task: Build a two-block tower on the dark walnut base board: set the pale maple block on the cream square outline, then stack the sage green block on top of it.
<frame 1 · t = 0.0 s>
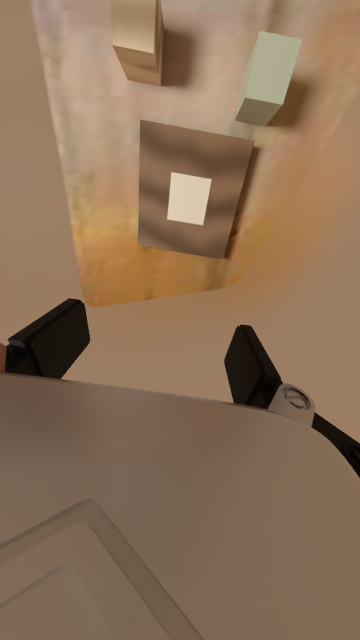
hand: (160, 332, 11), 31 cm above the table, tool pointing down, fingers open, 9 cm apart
maple block: (145, 55, 24), on the table
sage block: (255, 99, 26), on the table
walnut board: (188, 201, 33), on the table
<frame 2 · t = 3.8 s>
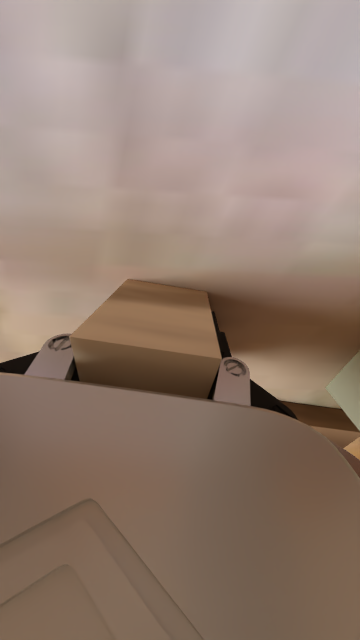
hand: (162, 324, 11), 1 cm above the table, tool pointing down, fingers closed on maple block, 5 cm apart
maple block: (163, 319, 12), on the table, touching gripper
walnut board: (225, 443, 20), on the table
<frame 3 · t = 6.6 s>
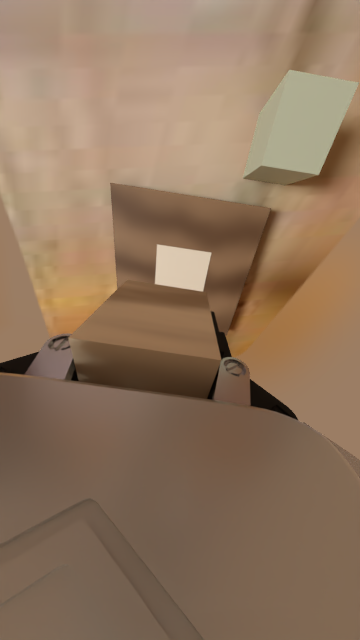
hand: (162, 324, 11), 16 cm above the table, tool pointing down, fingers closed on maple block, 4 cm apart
maple block: (163, 319, 12), point 15 cm above the table, touching gripper
sage block: (273, 152, 18), on the table
walnut board: (181, 271, 25), on the table
when the fingers open (4 cm above the table, at t = 9.4 s): maple block stays where it is, resting on walnut board.
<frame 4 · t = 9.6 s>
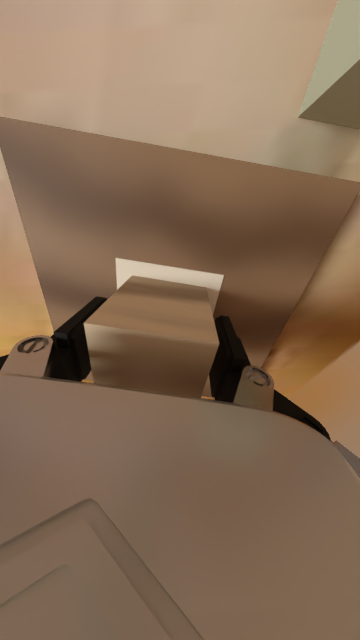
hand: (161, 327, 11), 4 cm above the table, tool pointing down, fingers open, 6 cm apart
maple block: (165, 313, 13), point 2 cm above the table, touching walnut board
walnut board: (168, 302, 14), on the table
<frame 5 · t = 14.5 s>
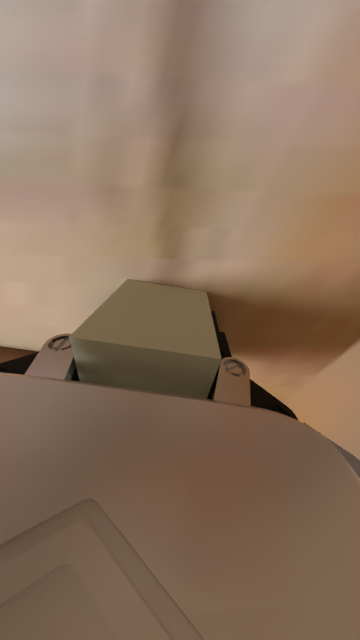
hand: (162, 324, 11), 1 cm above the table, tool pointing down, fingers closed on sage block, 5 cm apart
sage block: (163, 319, 12), on the table, touching gripper
walnut board: (80, 415, 19), on the table
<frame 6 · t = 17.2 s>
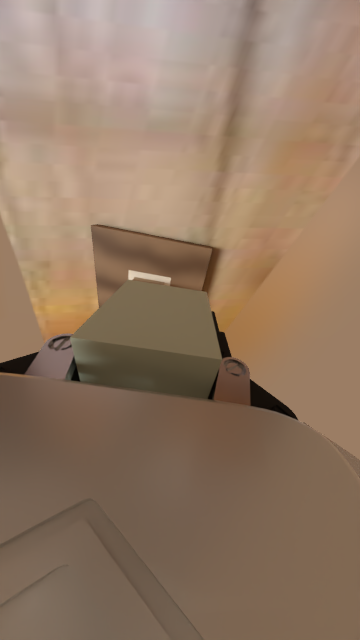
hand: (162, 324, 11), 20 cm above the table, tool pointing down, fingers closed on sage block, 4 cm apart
sage block: (163, 319, 12), point 19 cm above the table, touching gripper
walnut board: (150, 288, 32), on the table
when the fingers open (10 cm above the table, at t = 20.0 s): sage block stays where it is, resting on maple block.
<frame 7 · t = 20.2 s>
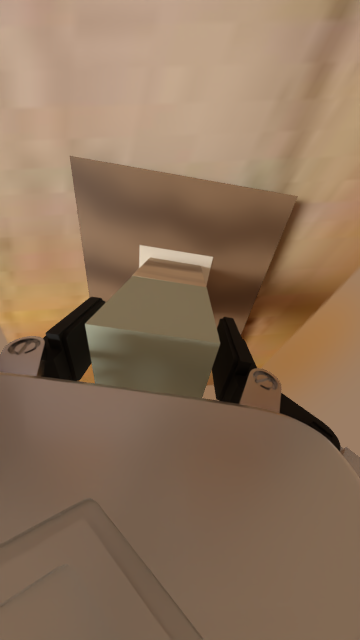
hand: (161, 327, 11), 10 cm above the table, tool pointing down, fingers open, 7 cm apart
maple block: (172, 286, 18), point 2 cm above the table, touching sage block, walnut board
sage block: (166, 313, 13), point 8 cm above the table, touching maple block
walnut board: (173, 280, 20), on the table
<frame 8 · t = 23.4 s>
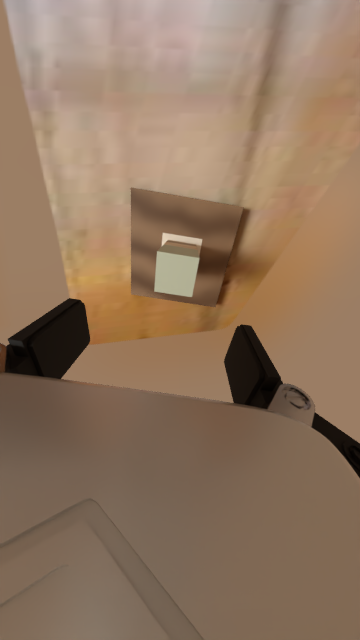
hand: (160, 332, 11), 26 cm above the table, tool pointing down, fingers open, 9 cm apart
maple block: (179, 256, 31), point 2 cm above the table, touching sage block, walnut board
sage block: (178, 264, 26), point 8 cm above the table, touching maple block
walnut board: (180, 254, 33), on the table
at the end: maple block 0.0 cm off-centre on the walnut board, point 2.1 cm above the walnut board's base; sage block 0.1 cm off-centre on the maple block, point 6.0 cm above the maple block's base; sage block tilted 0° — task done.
